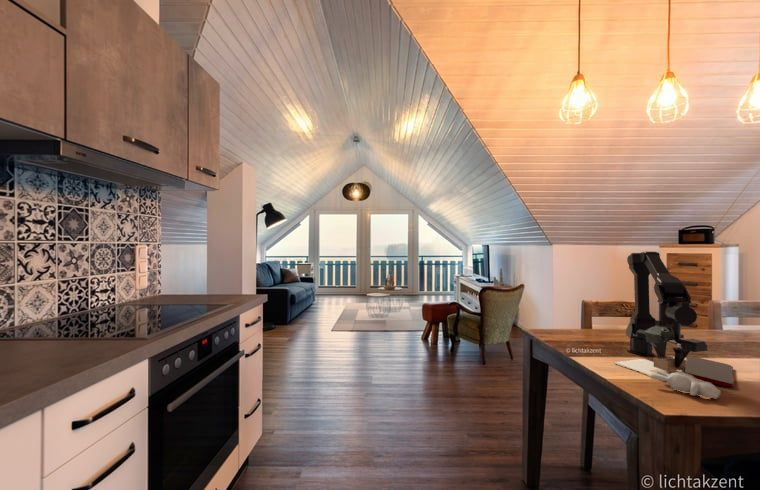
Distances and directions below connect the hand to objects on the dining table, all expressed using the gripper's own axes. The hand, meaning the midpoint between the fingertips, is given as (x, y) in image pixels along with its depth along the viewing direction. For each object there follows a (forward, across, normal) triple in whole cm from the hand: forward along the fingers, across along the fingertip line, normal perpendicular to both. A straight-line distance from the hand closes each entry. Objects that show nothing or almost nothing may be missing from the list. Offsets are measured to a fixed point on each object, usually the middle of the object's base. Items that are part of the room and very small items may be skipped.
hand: (669, 365), depth 119 cm
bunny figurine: (+3, +11, -10) cm, 16 cm away
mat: (+3, -4, -2) cm, 6 cm away
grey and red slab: (+3, +3, +13) cm, 14 cm away
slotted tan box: (+1, 0, 0) cm, 1 cm away
